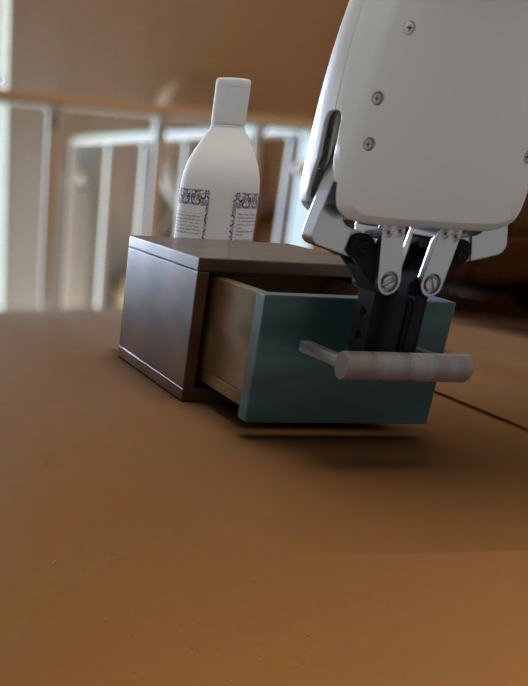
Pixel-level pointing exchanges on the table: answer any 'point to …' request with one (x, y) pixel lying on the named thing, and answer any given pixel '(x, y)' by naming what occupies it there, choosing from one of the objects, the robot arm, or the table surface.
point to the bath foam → (221, 173)
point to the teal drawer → (316, 353)
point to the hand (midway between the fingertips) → (376, 371)
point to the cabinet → (193, 299)
